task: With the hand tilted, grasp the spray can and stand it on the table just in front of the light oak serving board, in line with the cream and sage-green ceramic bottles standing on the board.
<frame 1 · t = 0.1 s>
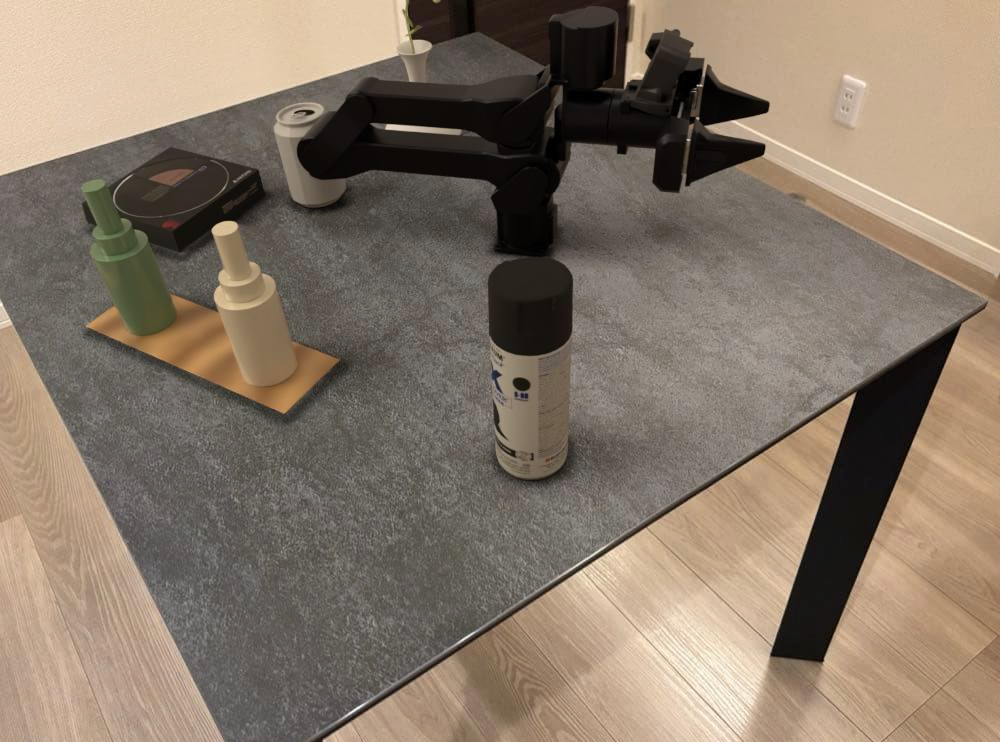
hand: (767, 127, 83), 17 cm above the table, tool horizontal, fingers open, 9 cm apart
cream bottle: (269, 367, 87), point 1 cm above the table, touching board
can: (320, 197, 113), on the table, touching arm
board: (210, 348, 91), on the table
green bottle: (150, 318, 94), point 1 cm above the table, touching board
portable cd player: (179, 213, 113), on the table
spray can: (532, 455, 77), on the table
flower in vase: (424, 140, 122), on the table
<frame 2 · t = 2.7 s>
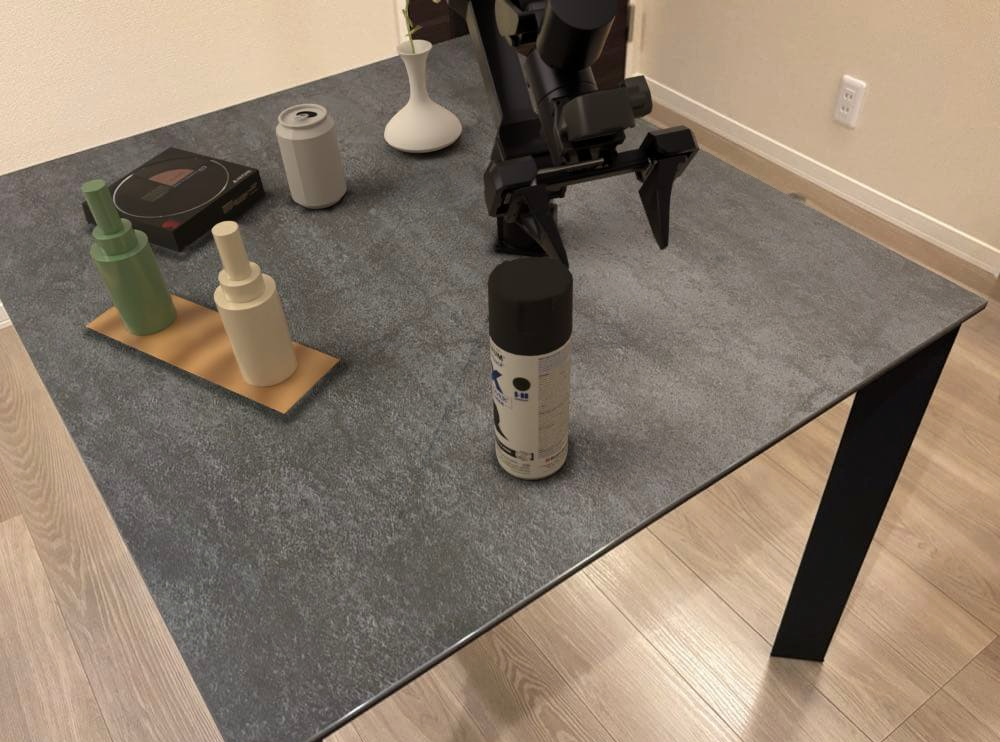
hand: (615, 258, 73), 15 cm above the table, tool tilted 55°, fingers open, 9 cm apart
can: (320, 198, 113), on the table
everything else where it was.
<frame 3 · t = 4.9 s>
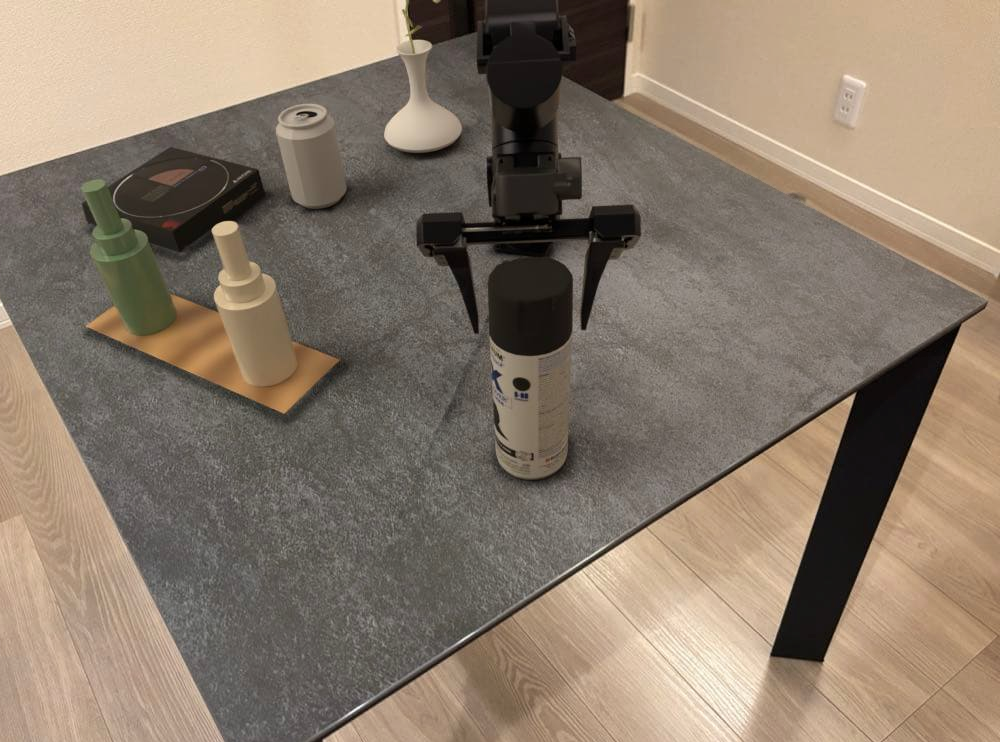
hand: (529, 331, 71), 12 cm above the table, tool tilted 45°, fingers open, 9 cm apart
nothing on the table moved.
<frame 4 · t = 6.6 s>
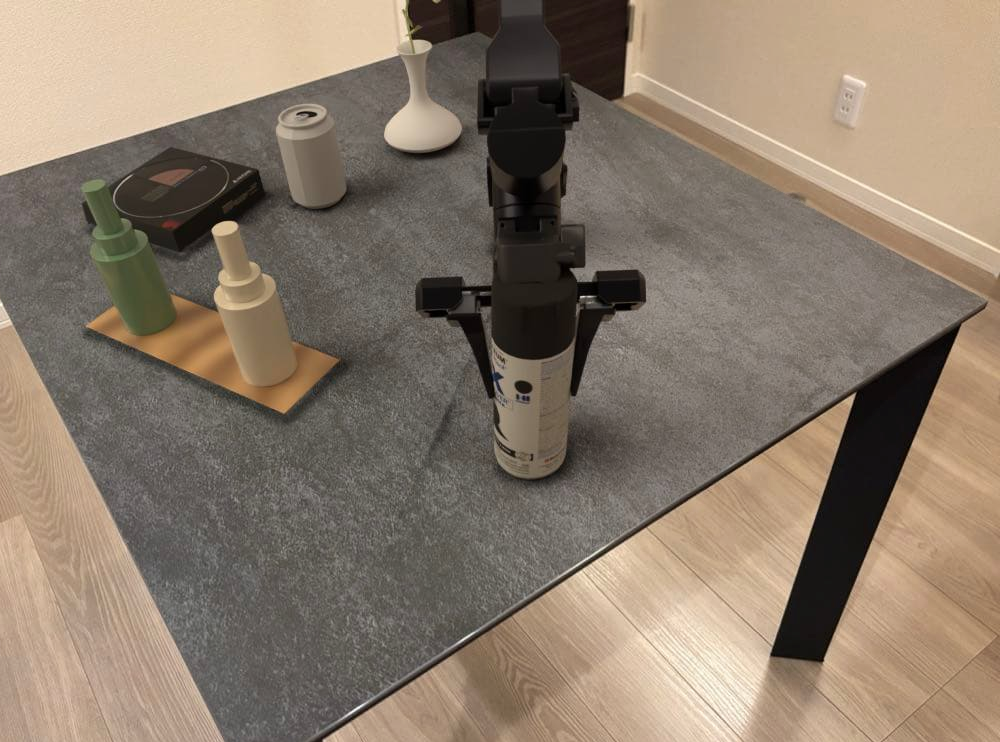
hand: (531, 397, 69), 9 cm above the table, tool tilted 45°, fingers closed on spray can, 6 cm apart
spray can: (530, 454, 77), on the table, touching gripper
everything else where it was.
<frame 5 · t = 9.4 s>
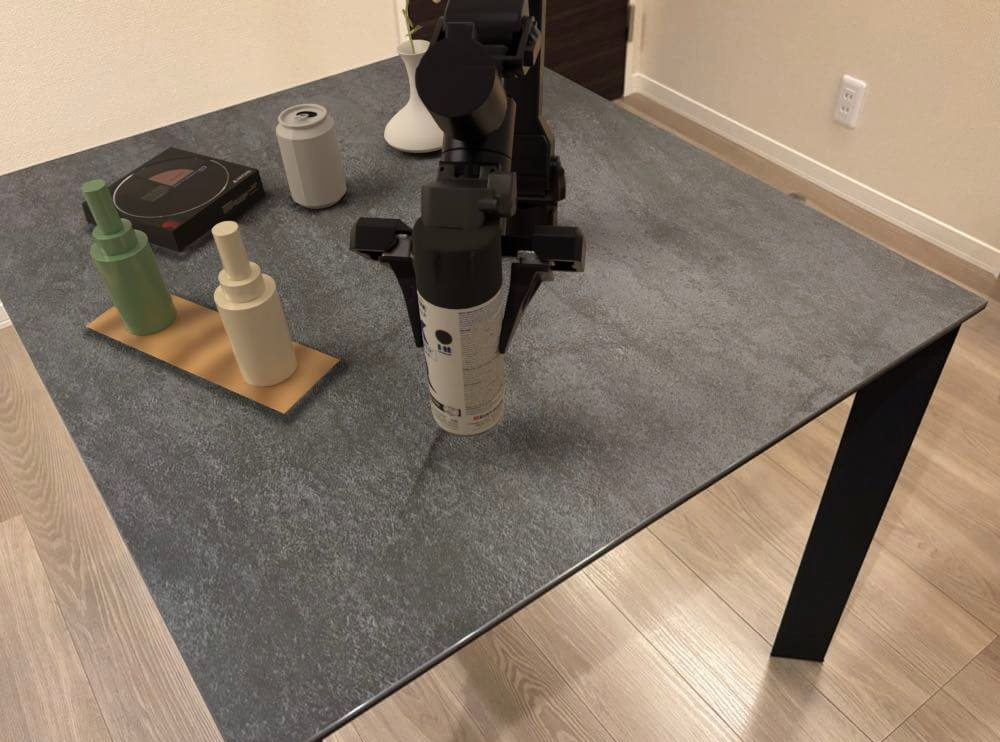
hand: (460, 350, 68), 13 cm above the table, tool tilted 45°, fingers closed on spray can, 6 cm apart
spray can: (469, 411, 75), point 4 cm above the table, touching gripper
everything else where it was.
when the fingers open (9 cm above the table, at t = 12.3 s): spray can stays where it is, on the table.
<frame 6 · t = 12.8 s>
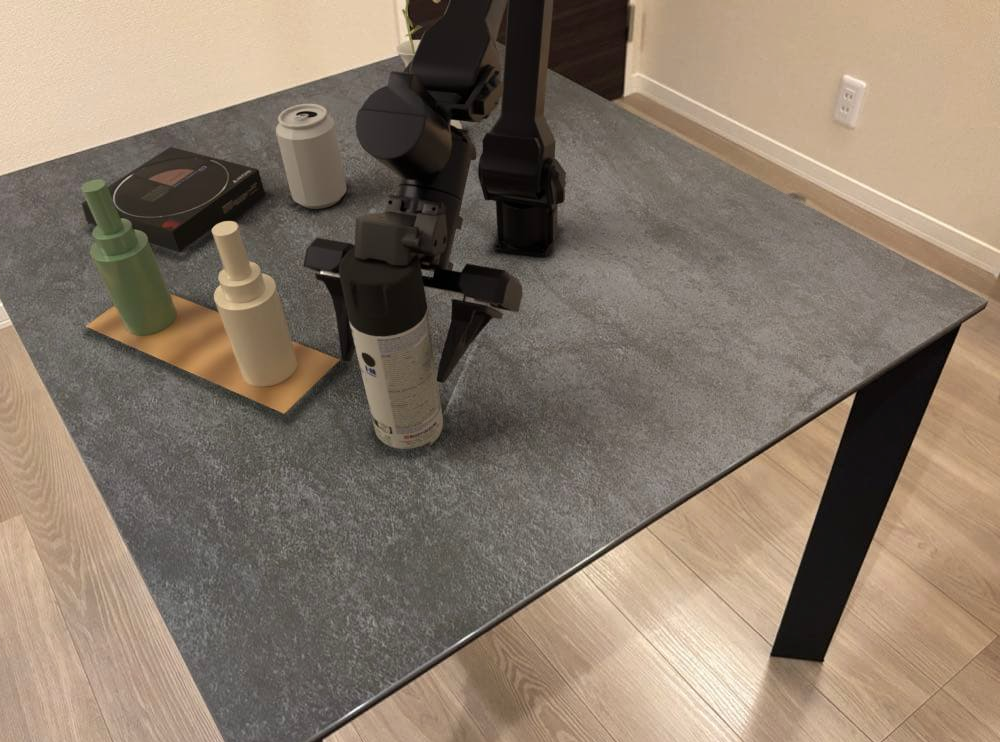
hand: (392, 371, 72), 9 cm above the table, tool tilted 45°, fingers open, 9 cm apart
spray can: (411, 430, 80), on the table, touching gripper
everything else where it was.
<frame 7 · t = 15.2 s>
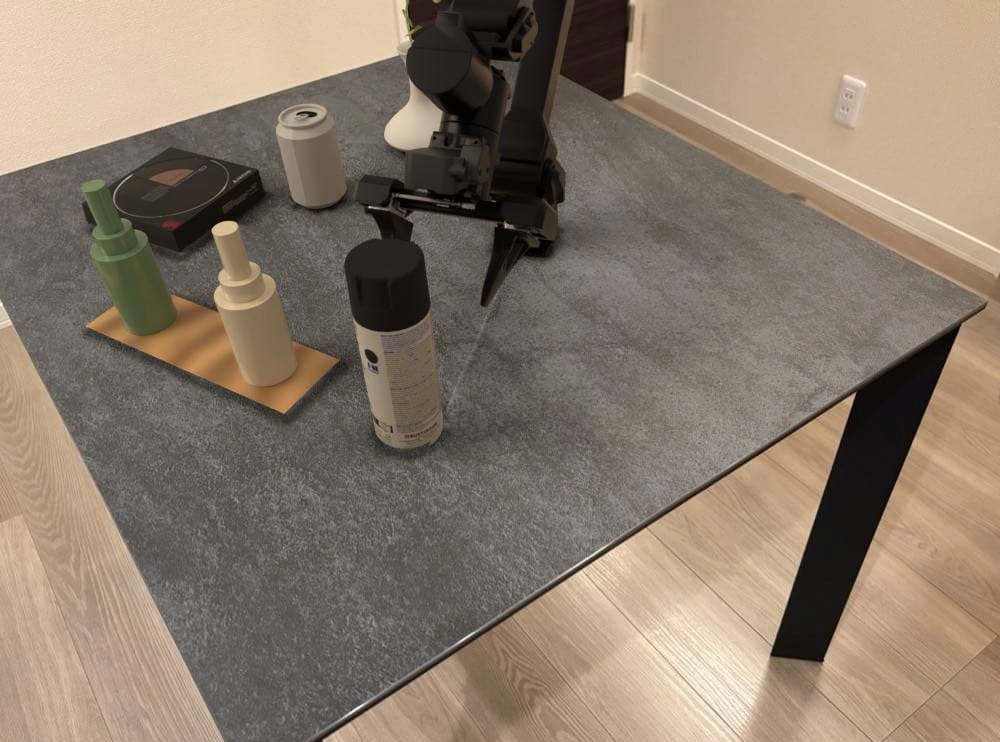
hand: (437, 298, 78), 10 cm above the table, tool tilted 45°, fingers open, 9 cm apart
spray can: (411, 431, 80), on the table
everything else where it was.
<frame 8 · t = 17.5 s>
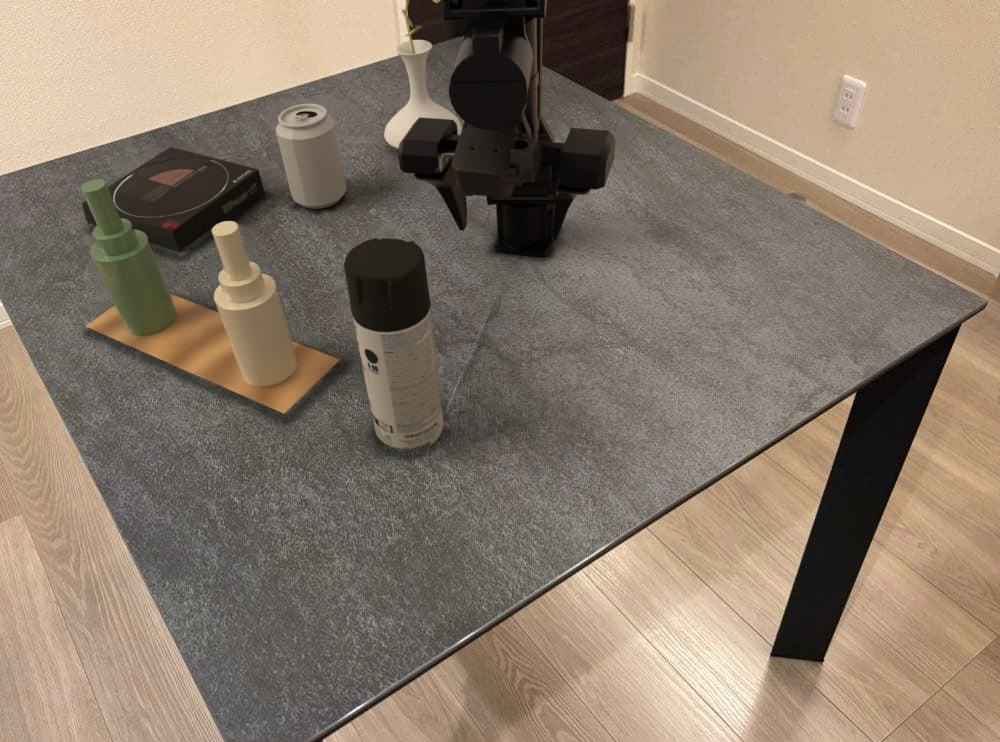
hand: (508, 233, 80), 13 cm above the table, tool pointing down, fingers open, 9 cm apart
nothing on the table moved.
at the end: spray can 0.4 cm from the target spot on the table beside the board, on the table; spray can tilted 0°; spray can 17.8 cm from the cream bottle (horizontally) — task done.
